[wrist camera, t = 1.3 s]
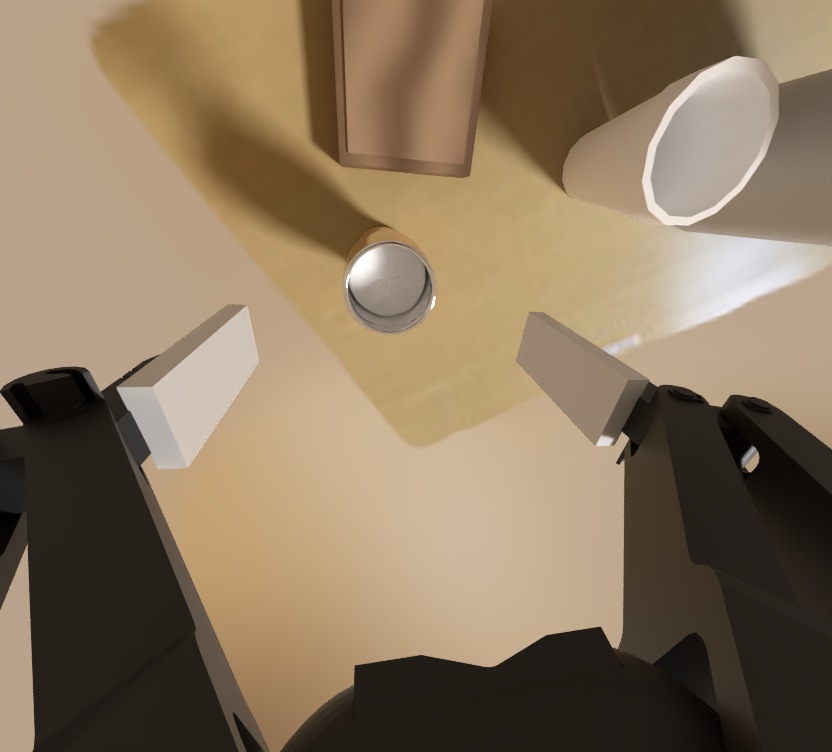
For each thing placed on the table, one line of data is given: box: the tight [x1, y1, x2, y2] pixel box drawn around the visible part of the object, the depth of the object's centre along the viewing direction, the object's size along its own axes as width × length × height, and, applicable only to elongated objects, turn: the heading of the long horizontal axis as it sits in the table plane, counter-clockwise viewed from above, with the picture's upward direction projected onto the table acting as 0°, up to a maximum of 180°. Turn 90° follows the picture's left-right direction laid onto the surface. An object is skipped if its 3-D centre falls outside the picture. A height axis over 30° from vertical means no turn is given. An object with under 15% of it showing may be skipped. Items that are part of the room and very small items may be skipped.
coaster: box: [331, 0, 493, 178], centre depth 25 cm, size 12×12×3 cm
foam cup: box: [562, 56, 779, 226], centre depth 26 cm, size 10×9×13 cm
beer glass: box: [343, 226, 437, 335], centre depth 27 cm, size 7×7×15 cm
